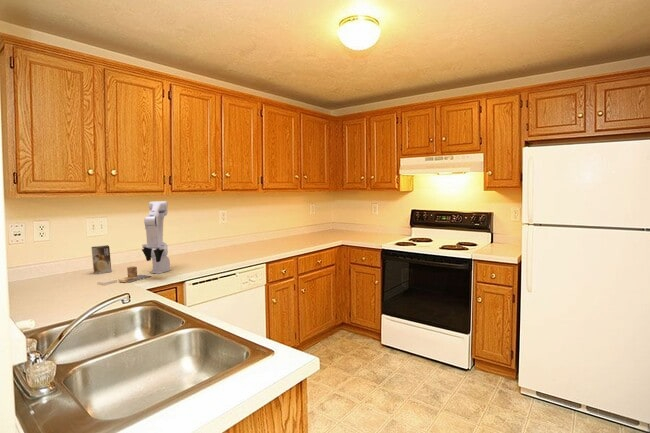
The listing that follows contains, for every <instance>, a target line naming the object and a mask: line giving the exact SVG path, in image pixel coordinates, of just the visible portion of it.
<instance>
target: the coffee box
mask: <svg viewBox="0 0 650 433" xmlns="http://www.w3.org/2000/svg"><path fill="white" fill-rule="evenodd" d="M110 252H111V250H110V246H109V244H108V245H96V246H91V258H92V267H93V268H92V269H93V270H92V271H93V274H94V275H98V274H99V275H100V274H106V273H112V261H111V253H110Z"/></svg>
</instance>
